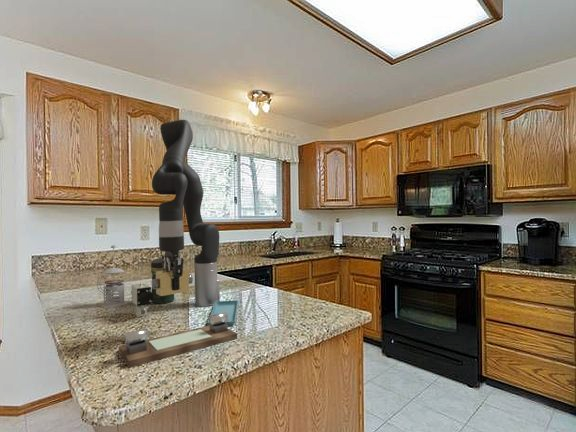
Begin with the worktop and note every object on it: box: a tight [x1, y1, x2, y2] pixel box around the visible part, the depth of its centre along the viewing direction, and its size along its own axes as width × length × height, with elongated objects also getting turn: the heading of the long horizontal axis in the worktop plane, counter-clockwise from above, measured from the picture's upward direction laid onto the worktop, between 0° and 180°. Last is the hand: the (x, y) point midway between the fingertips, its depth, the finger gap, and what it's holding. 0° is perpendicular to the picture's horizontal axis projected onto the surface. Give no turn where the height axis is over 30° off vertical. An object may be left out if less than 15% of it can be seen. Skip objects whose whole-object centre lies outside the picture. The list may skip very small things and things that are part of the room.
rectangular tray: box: [206, 300, 239, 327], centre depth 119 cm, size 26×9×2 cm, turn 6°
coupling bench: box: [118, 312, 238, 368], centre depth 92 cm, size 29×12×6 cm, turn 127°
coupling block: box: [151, 267, 194, 296], centre depth 104 cm, size 12×4×7 cm, turn 128°
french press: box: [96, 244, 128, 308], centre depth 138 cm, size 10×12×25 cm
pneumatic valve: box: [130, 282, 153, 318], centre depth 121 cm, size 6×12×12 cm, turn 38°
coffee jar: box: [150, 258, 175, 304], centre depth 141 cm, size 10×8×19 cm
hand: (172, 288), depth 104 cm, fingers closed on coupling block, 4 cm apart
